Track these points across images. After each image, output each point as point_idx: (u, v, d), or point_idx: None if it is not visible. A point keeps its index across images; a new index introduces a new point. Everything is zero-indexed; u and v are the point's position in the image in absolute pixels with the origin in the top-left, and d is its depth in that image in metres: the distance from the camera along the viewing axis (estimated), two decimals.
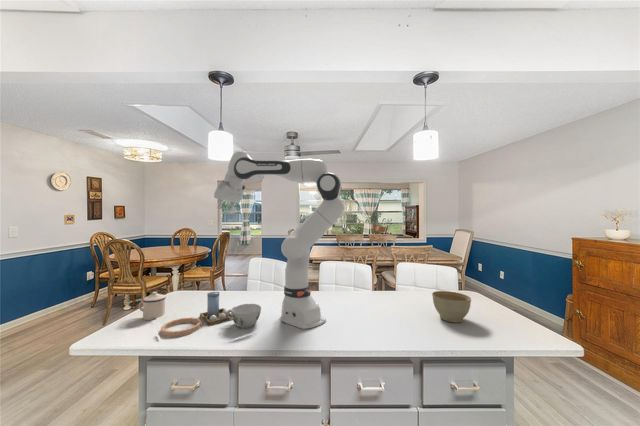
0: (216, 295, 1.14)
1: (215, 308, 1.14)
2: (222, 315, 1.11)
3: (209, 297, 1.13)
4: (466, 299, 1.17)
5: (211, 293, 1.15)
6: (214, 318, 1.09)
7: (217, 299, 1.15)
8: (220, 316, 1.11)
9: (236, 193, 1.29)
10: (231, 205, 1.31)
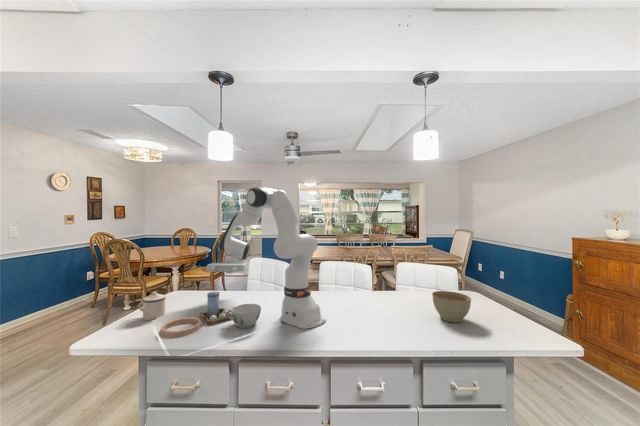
0: (216, 295, 1.14)
1: (215, 308, 1.14)
2: (222, 315, 1.11)
3: (209, 297, 1.13)
4: (466, 299, 1.17)
5: (211, 293, 1.15)
6: (214, 318, 1.09)
7: (217, 299, 1.15)
8: (220, 316, 1.11)
9: (235, 263, 1.37)
10: None
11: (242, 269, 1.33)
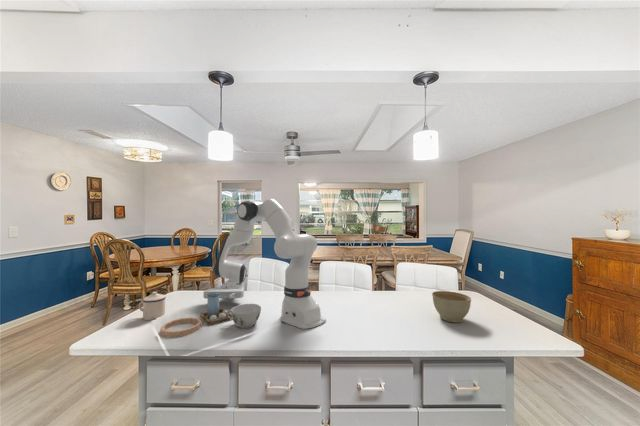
0: (216, 295, 1.14)
1: (215, 308, 1.14)
2: (222, 315, 1.11)
3: (209, 297, 1.13)
4: (466, 299, 1.17)
5: (211, 293, 1.15)
6: (214, 318, 1.09)
7: (217, 299, 1.15)
8: (220, 316, 1.11)
9: None
10: None
11: (240, 295, 1.28)
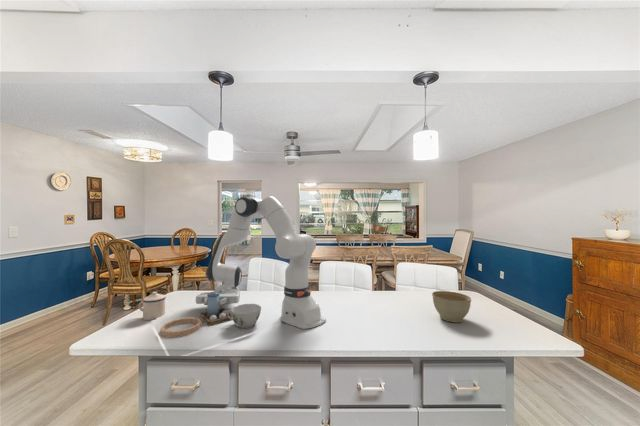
0: (216, 295, 1.14)
1: (215, 308, 1.14)
2: (222, 315, 1.11)
3: (209, 297, 1.13)
4: (466, 299, 1.17)
5: (211, 293, 1.15)
6: (214, 318, 1.09)
7: (217, 299, 1.15)
8: (220, 316, 1.11)
9: (227, 293, 1.24)
10: None
11: (235, 301, 1.20)
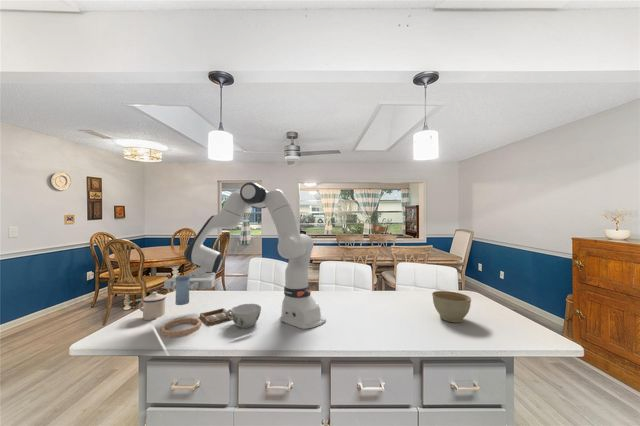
0: (185, 278, 1.02)
1: (184, 293, 1.02)
2: (222, 315, 1.11)
3: (177, 281, 1.01)
4: (466, 299, 1.17)
5: (180, 276, 1.03)
6: (214, 318, 1.09)
7: (187, 283, 1.03)
8: (220, 316, 1.11)
9: None
10: None
11: (208, 285, 1.08)
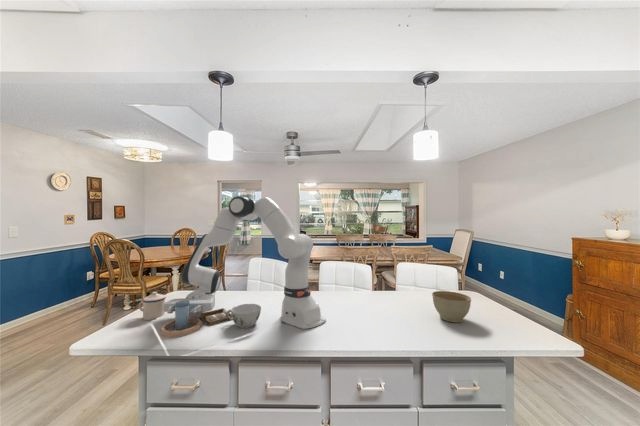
0: (185, 305, 1.02)
1: (183, 320, 1.01)
2: (222, 315, 1.11)
3: (177, 307, 1.01)
4: (466, 299, 1.17)
5: (180, 302, 1.03)
6: (214, 318, 1.09)
7: (186, 309, 1.02)
8: (220, 316, 1.11)
9: (200, 300, 1.12)
10: None
11: (207, 308, 1.07)
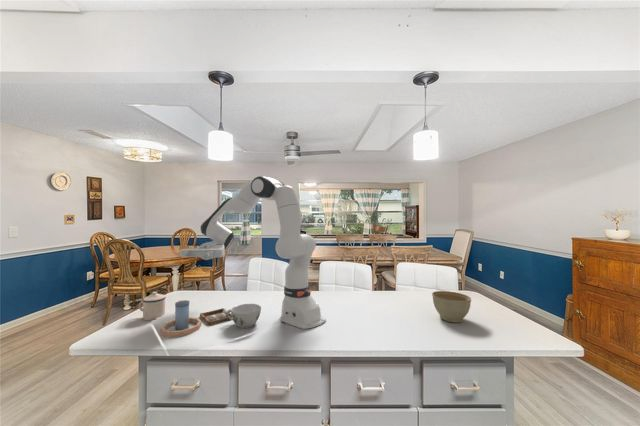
0: (185, 305, 1.02)
1: (183, 320, 1.01)
2: (222, 315, 1.11)
3: (177, 307, 1.01)
4: (466, 299, 1.17)
5: (180, 302, 1.03)
6: (214, 318, 1.09)
7: (186, 309, 1.02)
8: (220, 316, 1.11)
9: (212, 248, 1.25)
10: None
11: (219, 254, 1.21)
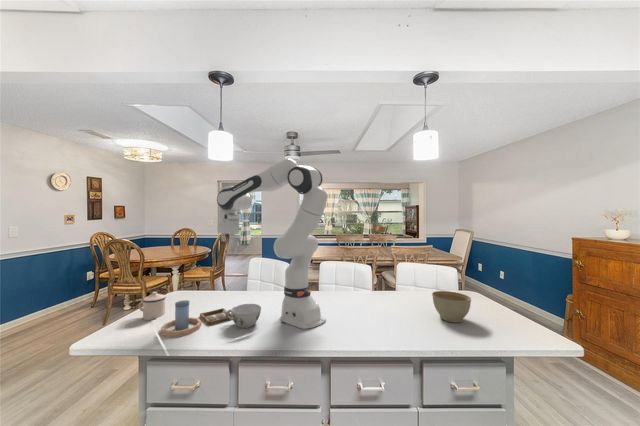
0: (185, 305, 1.02)
1: (183, 320, 1.01)
2: (222, 315, 1.11)
3: (177, 307, 1.01)
4: (466, 299, 1.17)
5: (180, 302, 1.03)
6: (214, 318, 1.09)
7: (186, 309, 1.02)
8: (220, 316, 1.11)
9: (227, 224, 1.29)
10: None
11: (235, 233, 1.26)
